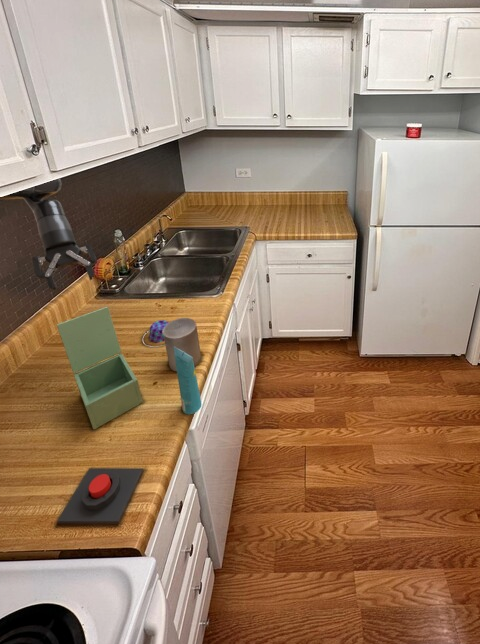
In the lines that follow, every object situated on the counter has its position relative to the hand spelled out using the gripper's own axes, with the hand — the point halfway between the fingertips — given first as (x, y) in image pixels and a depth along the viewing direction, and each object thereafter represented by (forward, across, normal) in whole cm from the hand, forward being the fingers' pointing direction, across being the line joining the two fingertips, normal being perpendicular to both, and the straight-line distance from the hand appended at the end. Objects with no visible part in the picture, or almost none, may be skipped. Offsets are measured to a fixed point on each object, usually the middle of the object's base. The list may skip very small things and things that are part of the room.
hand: (73, 284), depth 93 cm
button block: (+51, -6, -13) cm, 53 cm away
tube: (+45, +16, -5) cm, 48 cm away
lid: (+16, 0, +1) cm, 16 cm away
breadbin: (+34, 0, +7) cm, 35 cm away
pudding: (+22, +18, +22) cm, 36 cm away
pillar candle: (+33, +20, +9) cm, 40 cm away
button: (+49, -6, -15) cm, 52 cm away
